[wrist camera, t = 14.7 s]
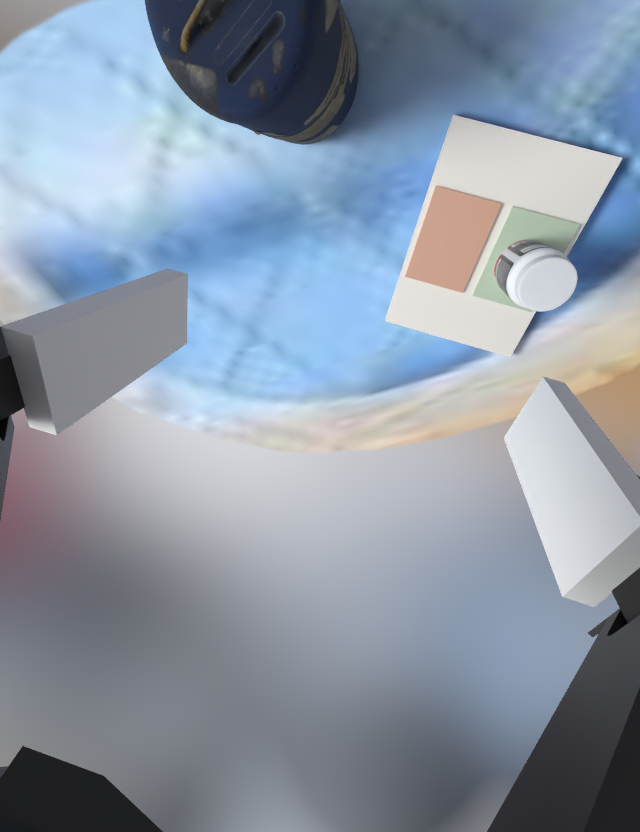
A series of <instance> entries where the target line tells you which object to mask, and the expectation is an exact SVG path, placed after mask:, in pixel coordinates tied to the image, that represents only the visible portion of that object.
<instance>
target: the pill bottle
mask: <svg viewBox="0 0 640 832" xmlns="http://www.w3.org/2000/svg"><path fill="white" fill-rule="evenodd" d="M494 278H495V281H496V283H497V284H498V286H499V287H500V288H501V289H502V290H503V291H504V293H505V294H506V295H507V296H508V297H509V298H510V299H511V300H512V301H513V302H514V303H515V304H517V305H518V306H520V307H523V308H528V309H530V310H533V311H539V312H543V311H549V310H552V309H555V308H557V307H559V306H561V305H562V304H563V303H565V302H566V301H567V300H568V299H569V298H570V297H571V295H572V294H573V292H574V290H575V288H576V285H577V281H578V276H577V271H576V269H575V267H574V265H573V264H572V263H571V262H570V261H569V259H568V258H567V256H566V255H565V254H563V253H562V252H561V251H559V250H557V249H554V248H552V247H549V246H547V245H545V244H542V243H540V242H538V241H534V240H521V241H517V242H515V243H513V244H511V245H510V246H508V247H507V248H506V249H504V250H503V251H502V253H501V254H500V255H499V257H498V258H497V260H496V263H495V266H494Z"/></svg>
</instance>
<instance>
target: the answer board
mask: <svg viewBox="0 0 640 832" xmlns="http://www.w3.org/2000/svg"><path fill="white" fill-rule="evenodd" d="M621 160H622V158H621V157H617V156H613V155H609V154H605V153H601V152H597V151H593V150H589V149H585V148H582V147H578V146H574V145H570V144H566V143H562V142H558V141H554V140H550V139H546V138H543V137H539V136H535V135H531V134H527V133H523V132H519V131H515V130H511V129H507V128H503V127H500V126H496V125H492V124H488V123H484V122H480V121H476V120H472V119H468V118H464V117H460V116H457V115H453V116H452V119H451V122H450V125H449V128H448V131H447V134H446V137H445V140H444V143H443V146H442V149H441V152H440V155H439V158H438V161H437V164H436V167H435V170H434V173H433V176H432V179H431V182H430V185H429V188H428V191H427V194H426V197H425V200H424V203H423V206H422V209H421V212H420V215H419V218H418V222H417V225H416V228H415V231H414V234H413V237H412V240H411V243H410V246H409V249H408V252H407V255H406V258H405V261H404V264H403V267H402V270H401V273H400V276H399V279H398V282H397V285H396V288H395V291H394V294H393V297H392V300H391V303H390V306H389V309H388V312H387V315H386V318H385V321H386V322H390V323H393V324H397V325H400V326H404V327H407V328H411V329H414V330H418V331H421V332H424V333H428V334H431V335H435V336H438V337H442V338H445V339H449V340H452V341H456V342H459V343H463V344H466V345H469V346H473V347H476V348H480V349H483V350H487V351H490V352H494V353H497V354H501V355H504V356H508V357H511V355H512V353H513V352H514V350H515V348H516V346H517V344H518V343H519V341H520V339H521V337H522V336H523V334H524V332H525V330H526V328H527V327H528V325H529V323H530V321H531V320H532V318H533V316H534V314H535V313H536V311H533V310H530V309H528V308H523V307H520V306H518V305H517V304H515V303H514V302H513V301H512V300H511V299H510V298H509V297H508V296H507V295H506V294H505V293H504V291H503V290H502V289H501V288H500V287H499V286H498V284H497V283H496V281H495V278H494V266H495V263H496V260H497V258H498V257H499V255H500V254H501V253H502V251H503V250H504V249H506V248H507V247H508V246H510V245H511V244H513V243H515V242H517V241H521V240H534V241H538V242H540V243H542V244H545V245H547V246H549V247H552V248H554V249H557V250H559V251H561V252H562V253H563V254H565V255H566V256H568V254H569V252H570V251H571V249H572V247H573V245H574V243H575V242H576V240H577V238H578V236H579V235H580V233H581V231H582V229H583V227H584V226H585V224H586V222H587V220H588V219H589V217H590V215H591V213H592V212H593V210H594V208H595V206H596V204H597V203H598V201H599V199H600V197H601V196H602V194H603V192H604V190H605V188H606V187H607V185H608V183H609V181H610V180H611V178H612V176H613V174H614V173H615V171H616V169H617V167H618V165H619V164H620V162H621Z"/></svg>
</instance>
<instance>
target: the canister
mask: <svg viewBox="0 0 640 832" xmlns="http://www.w3.org/2000/svg"><path fill="white" fill-rule="evenodd" d="M145 5H146V11H147V15H148V20H149V24H150V27H151V31H152V34H153V37H154V40H155V43H156V46H157V48H158V50H159V53H160V55H161V57H162V60H163V62H164V64H165V65H166V67H167V69H168V71H169V72H170V74H171V76H172V77H173V79H174V80H175V82H176V83H177V84H178V85H179V87H180V88H181V89H182V90H183V92H184V93H185V94H186V95H187V96H188V97H189V98H190V99H191V100H192V101H193V102H194V103H195V104H196V105H198V106H199V107H200V108H202V109H203V110H204V111H206V112H207V113H209V114H211V115H213V116H215V117H217V118H219V119H221V120H224V121H227V122H230V123H235V124H238V125H241V126H243V127H246V128H248V129H250V130H252V131H254V132H255V133H256V134H263V135H266V136H269V137H272V138H275V139H280V140H284V141H287V142H290V143H295V144H312V143H316V142H319V141H321V140H323V139H325V138H326V137H328V136H329V135H331V134H332V133H333V132H334V131H335V130H336V129H337V128H338V127H339V126H340V124H341V123H342V121H343V120H344V118H345V117H346V115H347V113H348V111H349V109H350V107H351V105H352V102H353V99H354V96H355V92H356V87H357V81H358V55H357V48H356V43H355V39H354V36H353V33H352V30H351V27H350V25H349V22H348V20H347V17H346V15H345V13H344V10H343V8H342V6H341V3H340V0H145Z"/></svg>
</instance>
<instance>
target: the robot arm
mask: <svg viewBox="0 0 640 832" xmlns="http://www.w3.org/2000/svg"><path fill="white" fill-rule="evenodd" d="M187 290H188V274H185V273H181V272H178V271H174V270H171V269H166V270H163V271H160V272H157V273H154V274H151V275H148V276H145V277H143V278H140V279H137V280H134V281H131V282H128V283H125V284H122V285H119V286H116V287H114V288H111V289H108V290H105V291H102V292H99V293H96V294H93V295H90V296H88V297H85V298H82V299H79V300H76V301H73V302H70V303H67V304H64V305H61V306H59V307H56V308H53V309H50V310H47V311H44V312H41V313H38V314H35V315H33V316H30V317H27V318H24V319H21V320H18V321H15V322H12V323H9V324H6V325H4V326H1V327H0V519H1V512H2V506H3V499H4V492H5V486H6V479H7V473H8V466H9V459H10V453H11V446H12V439H13V432H14V424H13V421H12V418H11V415H12V414H14V413H15V412H17V411H19V410H21V409H22V408H24V409H25V413H26V416H27V420H28V423H29V427H32V428H35V429H38V430H42V431H44V432H48V433H51V434H54V435H58V434H59V433H61V432H62V431H63V430H65V429H67V428H68V427H69V426H71V425H72V424H74V423H75V422H76V421H78V420H79V419H81V418H82V417H83V416H85V415H86V414H88V413H89V412H91V411H92V410H93V409H95V408H96V407H97V406H99V405H100V404H102V403H103V402H105V401H106V400H107V399H109V398H110V397H112V396H113V395H115V394H116V393H117V392H119V391H120V390H122V389H123V388H124V387H126V386H127V385H129V384H130V383H131V382H133V381H134V380H136V379H137V378H139V377H140V376H141V375H143V374H144V373H146V372H147V371H148V370H150V369H151V368H153V367H154V366H155V365H157V364H158V363H160V362H161V361H163V360H164V359H165V358H167V357H168V356H170V355H171V354H172V353H174V352H175V351H177V350H178V349H179V348H181V347H182V346H184V345H185V344H187ZM504 440H505V443H506V445H507V448H508V451H509V453H510V456H511V459H512V461H513V464H514V467H515V469H516V472H517V475H518V478H519V480H520V483H521V486H522V489H523V491H524V494H525V497H526V499H527V502H528V505H529V507H530V510H531V513H532V516H533V518H534V521H535V524H536V526H537V529H538V532H539V535H540V537H541V540H542V543H543V546H544V548H545V551H546V554H547V556H548V559H549V562H550V565H551V567H552V570H553V573H554V575H555V578H556V581H557V583H558V586H559V589H560V592H561V594H562V597H565V598H568V599H571V600H574V601H577V602H580V603H584V604H586V605H590V606H593V607H595V606H596V605H597V604H599V603H600V602H601V601H602V600H604V599H605V598H606V597H607V596H608V595H610V594H611V593H613V595H614V597H615V599H616V601H617V603H618V605H619V607H620V609H618V610H617V611H616V612H614V613H613V614H612V615H611V616H609V617H608V618H607V619H605V620H604V621H603V622H602V623H600V624H599V625H597V626H596V627H595V628H594V629H592V630H591V631H590V632H588V634H590V635H591V636H592V637H594V636H595V635H597V634H599V635H598V636H597V638H596V640H595V642H594V644H593V645H592V647H591V649H590V651H589V652H588V654H587V656H586V658H585V659H584V661H583V663H582V665H581V666H580V668H579V670H578V672H577V674H576V675H575V677H574V679H573V681H572V682H571V684H570V686H569V688H568V689H567V692H566V693H565V695H564V697H563V698H562V700H561V702H560V704H559V706H558V707H557V709H556V711H555V712H554V714H553V716H552V718H551V720H550V722H549V723H548V725H547V727H546V728H545V730H544V732H543V734H542V735H541V738H540V739H539V741H538V743H537V744H536V746H535V748H534V750H533V751H532V753H531V755H530V757H529V758H528V760H527V762H526V764H525V765H524V767H523V769H522V771H521V773H520V774H519V776H518V778H517V780H516V781H515V783H514V785H513V787H512V788H511V790H510V792H509V794H508V795H507V797H506V799H505V801H504V803H503V805H502V806H501V808H500V810H499V811H498V813H497V815H496V817H495V818H494V820H493V822H492V824H491V826H490V827H489V829H488V831H487V832H640V477H639V476H638V475H637V474H635V473H634V471H633V470H632V468H631V467H630V466H629V465H628V463H627V462H626V461H625V460H624V458H623V457H622V456H621V454H620V453H619V452H618V451H617V449H616V448H615V447H614V445H613V444H612V443H611V442H610V440H609V439H608V438H607V436H606V435H605V434H604V433H603V431H602V430H601V429H600V427H599V426H598V425H597V424H596V423H595V421H594V420H593V418H592V417H591V416H590V415H589V413H588V412H587V411H586V410H585V408H584V407H583V406H582V404H581V403H580V402H579V401H578V399H577V398H576V397H575V395H574V394H573V393H572V392H571V390H570V389H569V388H568V386H567V385H566V384H565V383H563V382H560V381H556V380H553V379H549V378H546V377H542V379H541V380H540V382H539V384H538V385H537V387H536V388H535V390H534V391H533V393H532V395H531V396H530V398H529V399H528V401H527V402H526V404H525V406H524V407H523V409H522V410H521V412H520V413H519V415H518V417H517V418H516V420H515V421H514V423H513V424H512V426H511V427H510V429H509V431H508V432H507V434H506V435H505V437H504ZM0 832H162V831H161V830H160V829H159V828H158V827H157V826H156V825H155V824H154V823H153V822H152V821H151V820H150V819H149V818H148V817H147V816H146V815H145V814H143V813H142V812H141V811H140V810H139V809H138V808H137V807H136V806H135V805H134V804H133V803H132V802H131V801H130V800H129V799H128V798H126V797H125V796H124V795H123V794H122V793H121V792H120V791H119V790H118V789H117V788H116V787H115V786H114V785H113V784H112V783H110V781H108V780H107V779H106V778H105V777H104V776H102V775H100V774H97V773H94V772H91V771H89V770H86V769H83V768H81V767H78V766H75V765H73V764H70V763H67V762H64V761H62V760H59V759H56V758H54V757H51V756H48V755H46V754H43V753H40V752H37V751H35V750H32V749H29V748H26V747H24V746H22V748H21V750H20V751H19V752H18V754H17V755H16V757H15V758H14V759H13V761H12V762H11V764H10V765H9V767H0Z"/></svg>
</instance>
